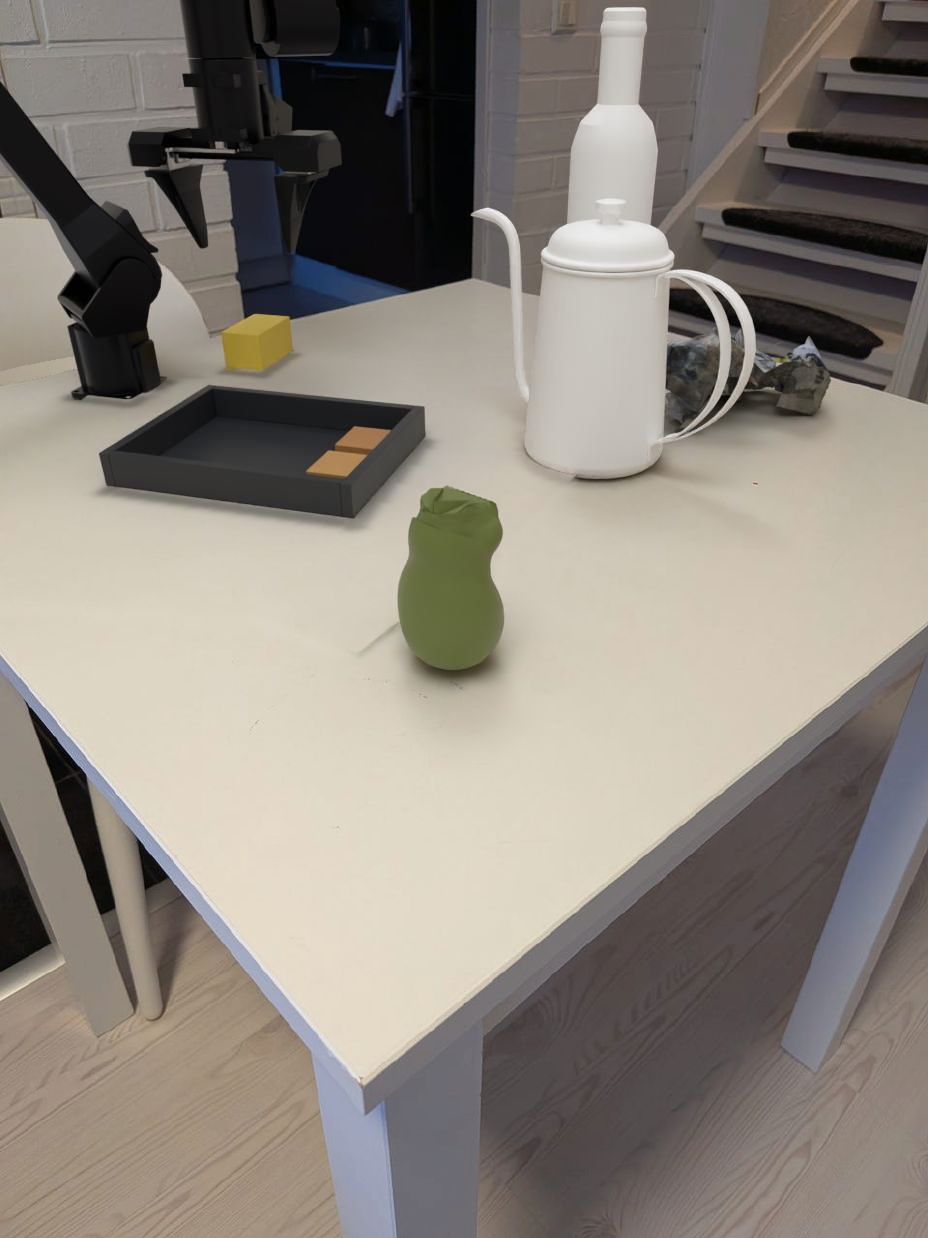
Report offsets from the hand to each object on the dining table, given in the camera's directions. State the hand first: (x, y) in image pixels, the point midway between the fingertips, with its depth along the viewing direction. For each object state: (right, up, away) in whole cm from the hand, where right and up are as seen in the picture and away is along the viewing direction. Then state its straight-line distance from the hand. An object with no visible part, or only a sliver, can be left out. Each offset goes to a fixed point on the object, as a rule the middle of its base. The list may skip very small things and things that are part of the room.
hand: (246, 250), depth 87 cm
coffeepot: (+31, -22, -14) cm, 40 cm away
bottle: (+34, -10, +5) cm, 36 cm away
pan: (+6, -23, -16) cm, 29 cm away
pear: (+20, -38, -37) cm, 57 cm away
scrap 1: (+12, -25, -20) cm, 34 cm away
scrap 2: (+13, -22, -16) cm, 30 cm away
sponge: (0, -9, +6) cm, 11 cm away
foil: (+45, -17, -6) cm, 48 cm away
